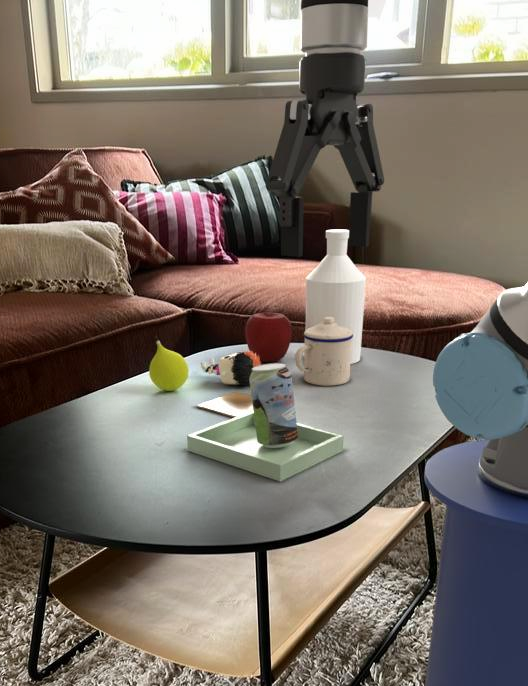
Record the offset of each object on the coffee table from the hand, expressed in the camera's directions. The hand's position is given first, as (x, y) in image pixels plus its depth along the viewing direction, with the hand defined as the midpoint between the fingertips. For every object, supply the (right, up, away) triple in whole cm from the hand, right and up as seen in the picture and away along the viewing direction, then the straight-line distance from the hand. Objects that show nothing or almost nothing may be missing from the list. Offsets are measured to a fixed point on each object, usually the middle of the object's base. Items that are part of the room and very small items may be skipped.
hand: (326, 251), depth 96 cm
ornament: (-24, -11, +44) cm, 51 cm away
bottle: (+8, -1, +63) cm, 63 cm away
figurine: (-13, -8, +49) cm, 51 cm away
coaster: (-11, -15, +35) cm, 40 cm away
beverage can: (-6, -23, +18) cm, 29 cm away
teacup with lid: (+4, -8, +48) cm, 49 cm away
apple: (-5, -2, +62) cm, 62 cm away
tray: (-7, -24, +16) cm, 30 cm away
